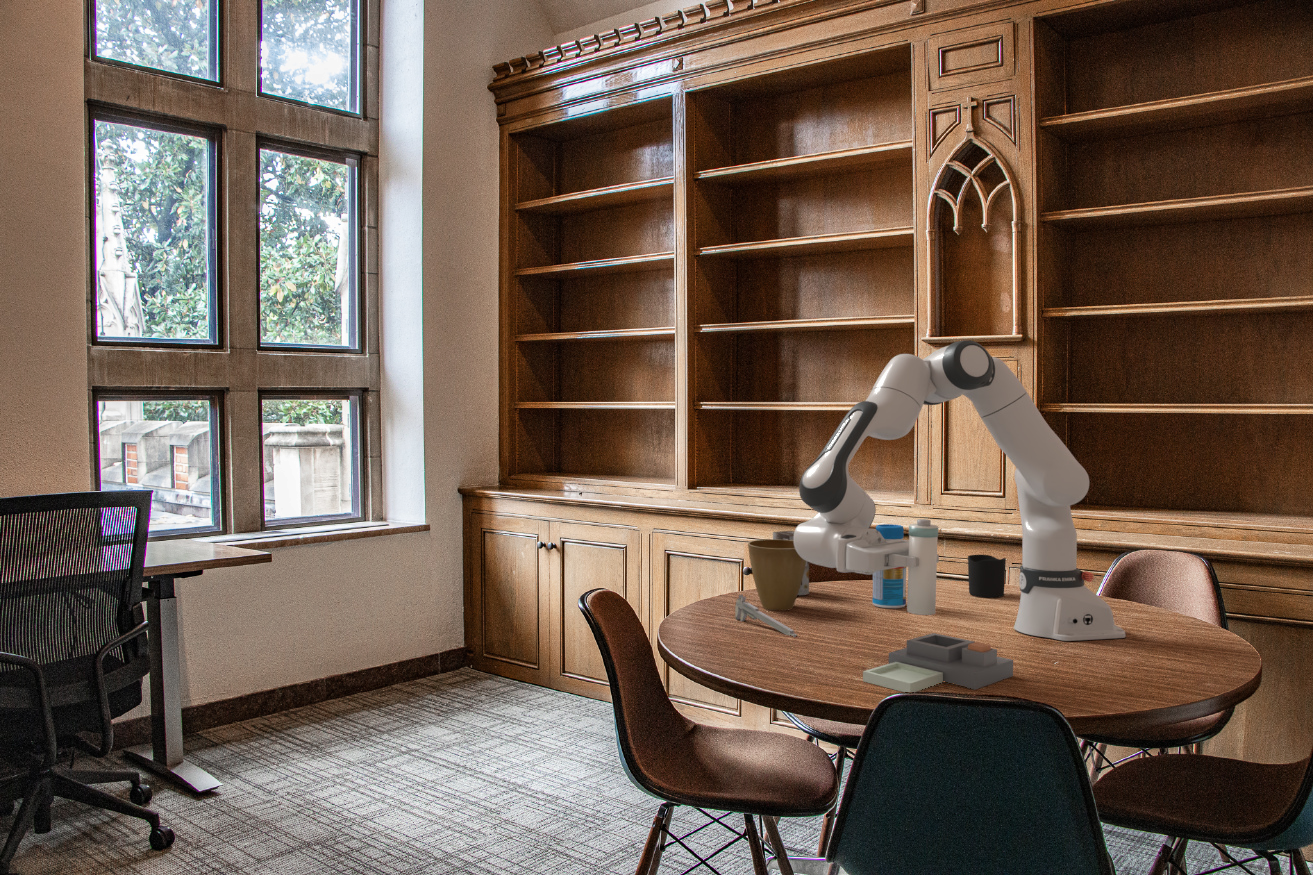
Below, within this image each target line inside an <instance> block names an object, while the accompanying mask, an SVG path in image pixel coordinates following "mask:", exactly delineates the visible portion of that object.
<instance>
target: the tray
mask: <svg viewBox="0 0 1313 875" xmlns="http://www.w3.org/2000/svg"><path fill="white" fill-rule="evenodd" d="M862 682H864V683H869V684H871V685H872V684H873V685H876V686H879V687H883V688H887V689H891V690H894V691H898V692H902V693H905V692H914V693H917V692H920V691H923V690H925V688H926V689H929V688H931V687H930V686H932V687H935V686H937V685H936V684H938V683H941V684H943V683H944V682H943V673H941V672H937V671H933V670H929V669H925V668H920V667H916V666H912V665H908V664H904V663H899V662H893V663H890V664H889V663H886V664H884V665H883V664H882V665H880V666H877V667H876V666H875V667H873V668H870V669H867V670H863V671H862ZM942 682H943V683H942ZM934 685H935V686H934ZM938 685H939V684H938ZM928 687H929V688H928ZM922 689H923V690H922Z"/></svg>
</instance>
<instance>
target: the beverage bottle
mask: <svg viewBox="0 0 1313 875" xmlns="http://www.w3.org/2000/svg"><path fill="white" fill-rule="evenodd" d="M875 530H877V531H879V532H880V533H881V535H882V536H883V538H884V539H885V540H886V541H893V540H904V535H905V533H904V530H905V528H904V525H902V524H892V523H891V524H890V523H889V524H888V523H887V524H886V523H884V524H883V523H882V524H877V525H876V527H875ZM907 568H908V567H897V568H891V569H886V570H880V571H876V572H875V573H874V574H872V602H871V603H872V604H873V606H875V607H877V608H882V609H901V608H904V607H905V606H907Z"/></svg>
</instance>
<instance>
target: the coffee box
mask: <svg viewBox="0 0 1313 875" xmlns="http://www.w3.org/2000/svg"><path fill="white" fill-rule="evenodd" d="M794 532H795V530H784V531H783V530H782V531H774V532H772V539H779V540H793V541H794ZM806 594H809V595H810V562H807V561H806V566H805V570H804V575H803V578H802V582H801V585H800V589H799V592H798V595H799V596H807V595H806Z"/></svg>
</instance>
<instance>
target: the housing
mask: <svg viewBox="0 0 1313 875" xmlns="http://www.w3.org/2000/svg"><path fill="white" fill-rule="evenodd" d="M975 642H976V641H974V640H969V639H965V638H964V639H963V638H959V637H955V636H950V635H945V634H940V633H935V632H933V633H929V634H925V635H922V636H918V637H914V638H911V639H907V640H906V647H904V648H902V649H896V650H894V651H890V652H888V664H890V663H893V662H899V663H904V664H908V665H912V666H916V667H920V668H925V669H929V670H933V671H937V672H941V673H943V681H945V682H948V683H947V684H949V683H954V684H957V685H961V686H965V687H967V689H970V688H971V689H970V690H974V691H977V690H978V689H981V688H984V687H986V686H989V685H992V684H995V683H997V682H1000V681H1003V679H1004V680H1006V679H1009V678H1011V677H1013V676H1014V659H1012V658H1011V659H1010V658H1007V657H1006V658H1005V657H1001V656H998V649H996V648H992V647H991V650H989V651H986V652H978V651H974V650H969V649H968V644H971V643H975ZM945 682H944V683H945ZM957 685H956V686H957ZM961 686H960V687H961ZM965 687H964V688H965Z"/></svg>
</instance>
